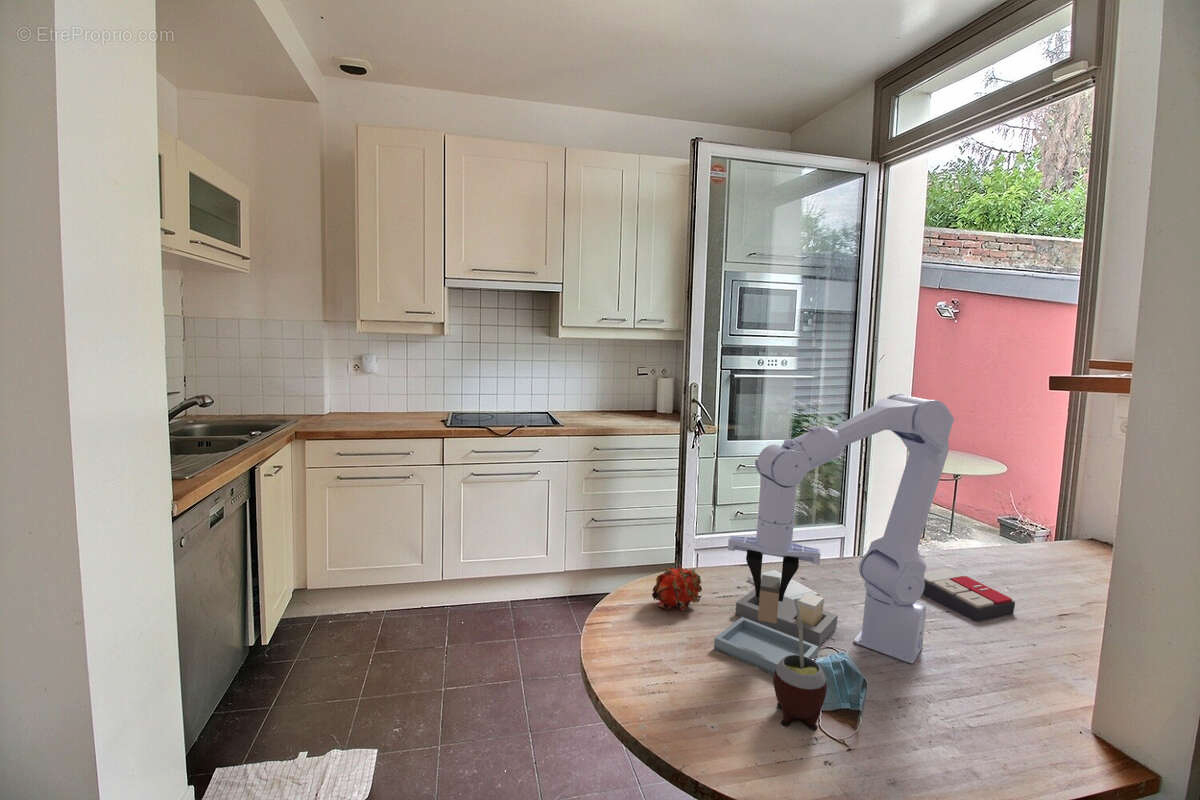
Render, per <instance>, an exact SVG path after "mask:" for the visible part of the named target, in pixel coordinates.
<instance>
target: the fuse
mask: <svg viewBox="0 0 1200 800" xmlns="http://www.w3.org/2000/svg"><path fill="white" fill-rule="evenodd" d="M798 604H799V608H800V612H801V618H802V621H803V623H806V624H809V625H812V626H814V627H816V626H817V625H818V624H819V623H820V622H821V621H822V615H823V610H824V604H825V597H822V596H820V595H819V596H817V595H814V594H811V593H807V594H806V595H805V596H803V597H802V598H801V599H800V600H799V602H798ZM797 620H798V616H797Z"/></svg>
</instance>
